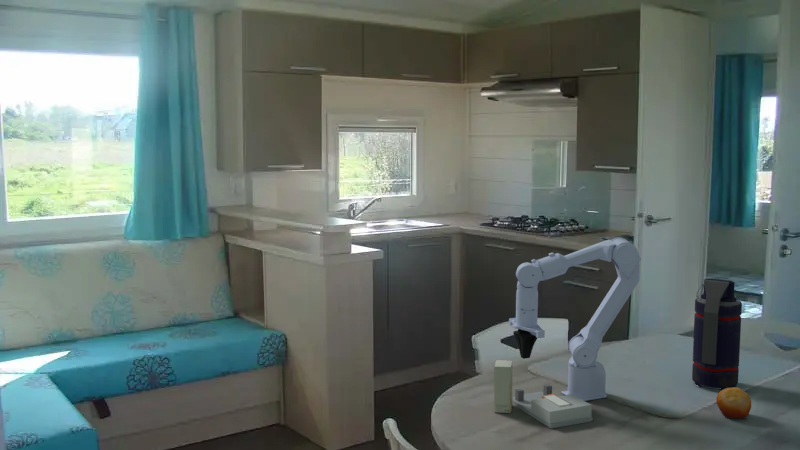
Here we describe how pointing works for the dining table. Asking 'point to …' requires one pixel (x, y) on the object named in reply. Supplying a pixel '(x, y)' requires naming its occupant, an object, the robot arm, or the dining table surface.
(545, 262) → the robot arm
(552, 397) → the button
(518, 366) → the dining table surface
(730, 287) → the grenade
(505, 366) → the skincare box
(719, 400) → the fruit
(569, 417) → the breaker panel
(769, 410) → the dining table surface
